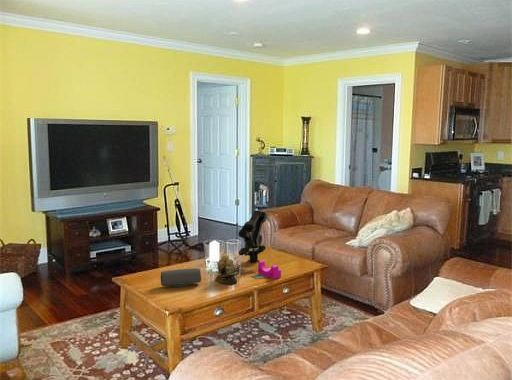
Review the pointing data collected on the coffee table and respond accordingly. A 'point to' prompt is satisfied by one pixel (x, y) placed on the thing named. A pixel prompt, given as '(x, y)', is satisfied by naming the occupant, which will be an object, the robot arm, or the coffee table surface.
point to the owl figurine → (226, 271)
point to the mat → (259, 276)
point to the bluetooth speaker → (180, 277)
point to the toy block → (269, 270)
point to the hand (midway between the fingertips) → (256, 261)
